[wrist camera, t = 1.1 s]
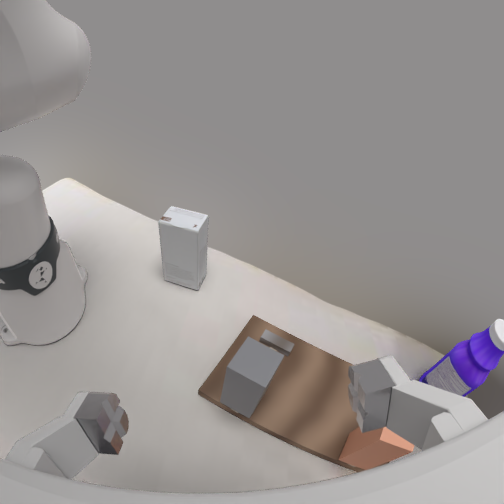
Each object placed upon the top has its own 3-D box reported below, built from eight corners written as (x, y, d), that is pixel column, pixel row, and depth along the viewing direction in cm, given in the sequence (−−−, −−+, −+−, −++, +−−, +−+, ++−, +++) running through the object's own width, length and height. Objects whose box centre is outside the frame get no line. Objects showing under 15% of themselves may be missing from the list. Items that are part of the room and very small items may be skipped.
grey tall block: (219, 402, 34) (226, 366, 27) (236, 377, 36) (248, 336, 30) (249, 418, 33) (265, 387, 26) (265, 392, 35) (284, 355, 29)
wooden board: (198, 394, 36) (198, 386, 34) (251, 320, 45) (254, 310, 44) (378, 478, 29) (388, 475, 27) (404, 394, 39) (414, 386, 37)
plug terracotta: (338, 459, 29) (379, 439, 23) (349, 432, 32) (390, 404, 26) (365, 470, 28) (412, 451, 22) (375, 443, 31) (421, 417, 25)
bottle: (451, 402, 38) (526, 341, 26) (432, 420, 35) (513, 361, 24) (429, 369, 42) (495, 302, 30) (408, 385, 40) (480, 317, 28)
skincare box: (206, 273, 51) (212, 213, 43) (197, 293, 48) (200, 232, 40) (172, 263, 51) (171, 203, 43) (161, 281, 48) (157, 220, 40)
